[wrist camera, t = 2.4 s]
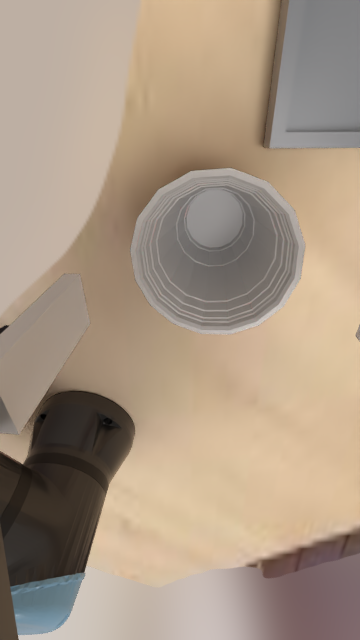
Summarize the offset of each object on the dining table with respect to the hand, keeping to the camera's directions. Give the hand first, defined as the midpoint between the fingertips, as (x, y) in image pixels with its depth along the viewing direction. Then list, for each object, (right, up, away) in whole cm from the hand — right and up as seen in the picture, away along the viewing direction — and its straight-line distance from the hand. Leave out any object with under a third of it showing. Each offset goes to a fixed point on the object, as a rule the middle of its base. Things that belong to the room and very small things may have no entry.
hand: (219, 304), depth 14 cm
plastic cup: (+1, +9, +15) cm, 17 cm away
